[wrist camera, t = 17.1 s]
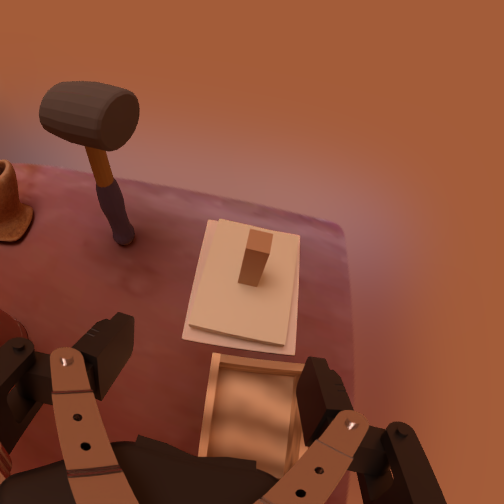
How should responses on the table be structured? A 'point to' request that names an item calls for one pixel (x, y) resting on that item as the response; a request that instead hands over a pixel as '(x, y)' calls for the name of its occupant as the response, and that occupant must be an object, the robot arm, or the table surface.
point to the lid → (247, 284)
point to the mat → (233, 342)
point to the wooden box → (253, 413)
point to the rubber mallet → (95, 136)
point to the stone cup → (11, 206)
